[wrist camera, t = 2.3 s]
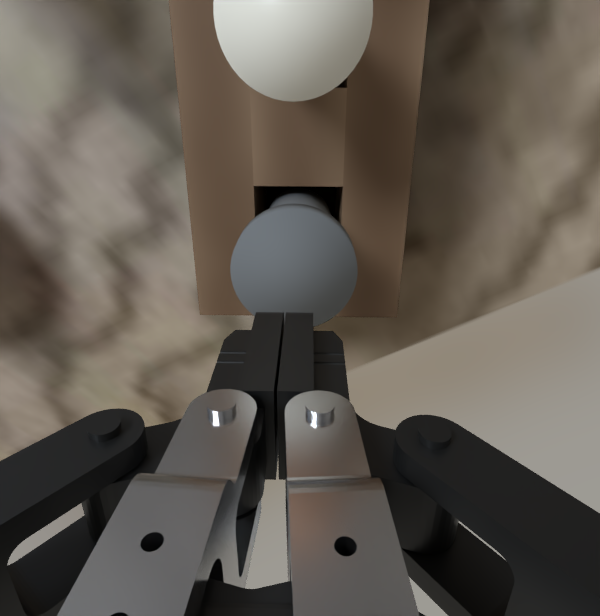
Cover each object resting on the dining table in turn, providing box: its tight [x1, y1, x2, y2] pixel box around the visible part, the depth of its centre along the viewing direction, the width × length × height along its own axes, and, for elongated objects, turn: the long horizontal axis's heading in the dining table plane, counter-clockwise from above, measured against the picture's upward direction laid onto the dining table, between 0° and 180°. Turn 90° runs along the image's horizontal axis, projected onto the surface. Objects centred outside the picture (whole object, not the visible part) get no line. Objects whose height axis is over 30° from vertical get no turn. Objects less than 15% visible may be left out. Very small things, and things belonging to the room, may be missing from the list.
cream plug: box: [213, 0, 373, 102], centre depth 17 cm, size 5×5×7 cm
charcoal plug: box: [230, 188, 358, 327], centre depth 20 cm, size 5×5×7 cm
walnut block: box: [169, 0, 430, 317], centre depth 21 cm, size 10×25×6 cm, turn 0°
